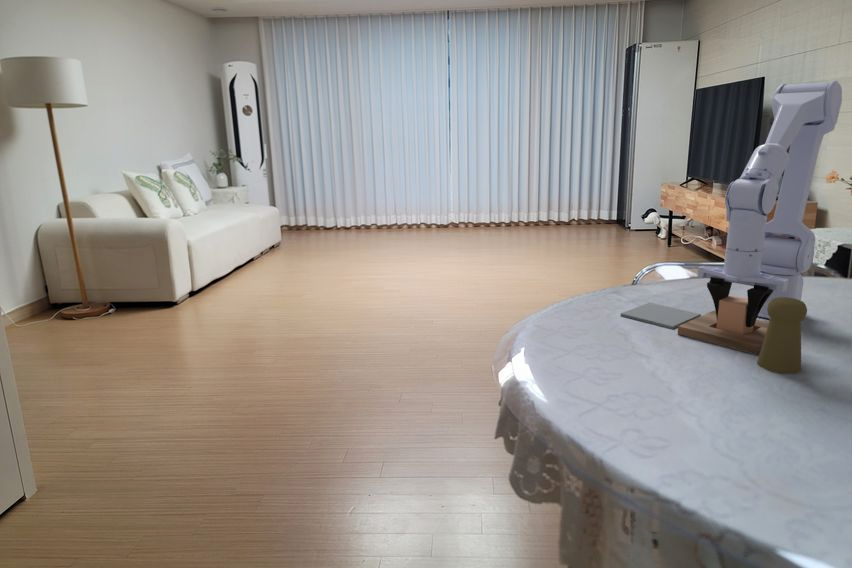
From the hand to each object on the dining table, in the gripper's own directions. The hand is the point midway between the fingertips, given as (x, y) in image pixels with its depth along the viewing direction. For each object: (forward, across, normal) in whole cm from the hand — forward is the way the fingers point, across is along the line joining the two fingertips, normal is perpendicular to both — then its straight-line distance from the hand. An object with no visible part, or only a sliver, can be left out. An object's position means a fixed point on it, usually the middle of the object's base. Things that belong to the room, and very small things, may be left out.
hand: (735, 322), depth 107 cm
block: (+2, 0, 0) cm, 2 cm away
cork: (+2, +11, -10) cm, 15 cm away
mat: (+2, -14, 0) cm, 15 cm away
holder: (+2, 0, 0) cm, 2 cm away
